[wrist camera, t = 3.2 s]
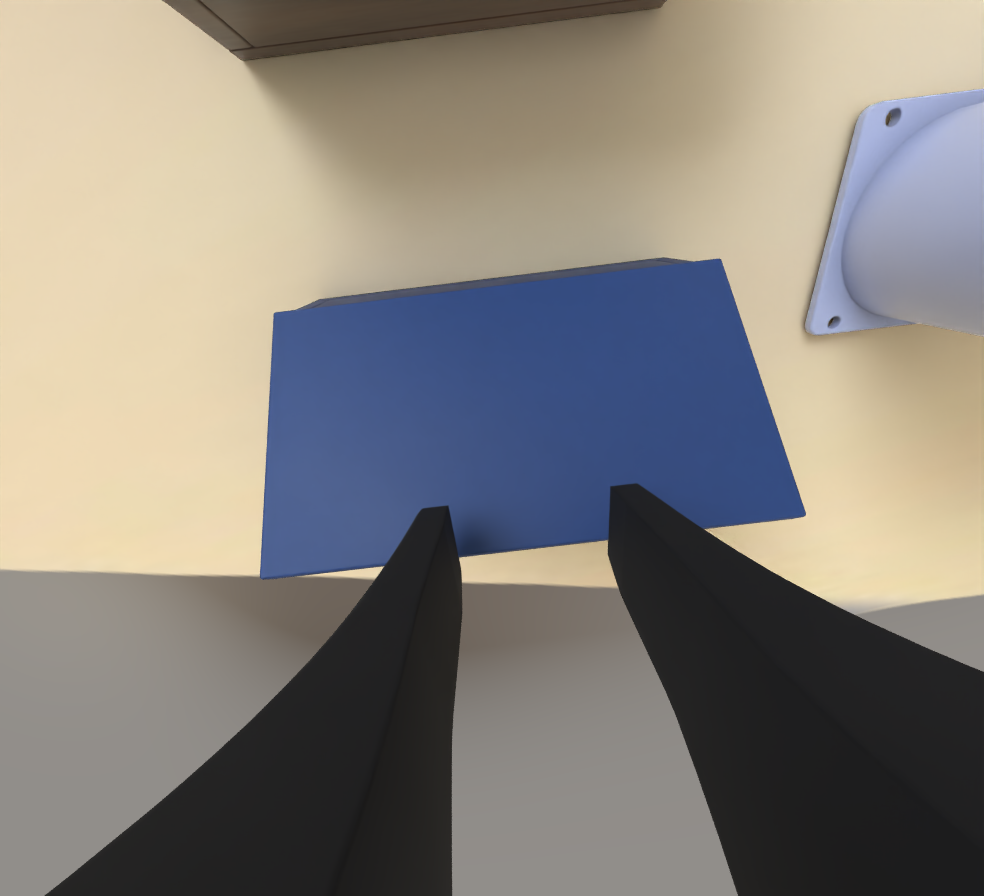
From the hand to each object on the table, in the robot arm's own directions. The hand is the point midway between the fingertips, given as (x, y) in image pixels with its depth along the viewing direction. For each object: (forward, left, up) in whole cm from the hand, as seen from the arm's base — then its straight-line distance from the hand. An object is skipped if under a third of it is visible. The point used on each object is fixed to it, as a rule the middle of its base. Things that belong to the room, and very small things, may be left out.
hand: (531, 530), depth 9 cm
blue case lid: (0, -1, -4) cm, 4 cm away
